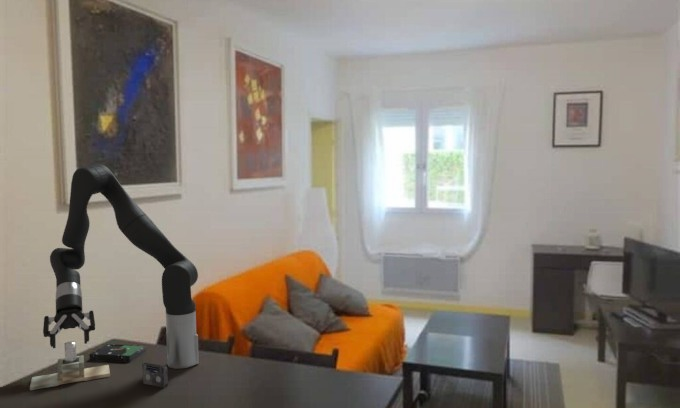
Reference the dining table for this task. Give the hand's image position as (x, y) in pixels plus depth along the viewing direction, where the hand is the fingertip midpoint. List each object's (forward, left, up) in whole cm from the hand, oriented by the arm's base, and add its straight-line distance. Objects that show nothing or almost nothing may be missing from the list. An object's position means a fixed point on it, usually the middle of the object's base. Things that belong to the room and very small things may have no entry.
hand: (70, 344), depth 156 cm
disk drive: (-14, -13, -11) cm, 22 cm away
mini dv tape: (-22, +18, -10) cm, 30 cm away
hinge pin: (0, +1, -9) cm, 9 cm away
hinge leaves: (0, +1, -10) cm, 10 cm away
